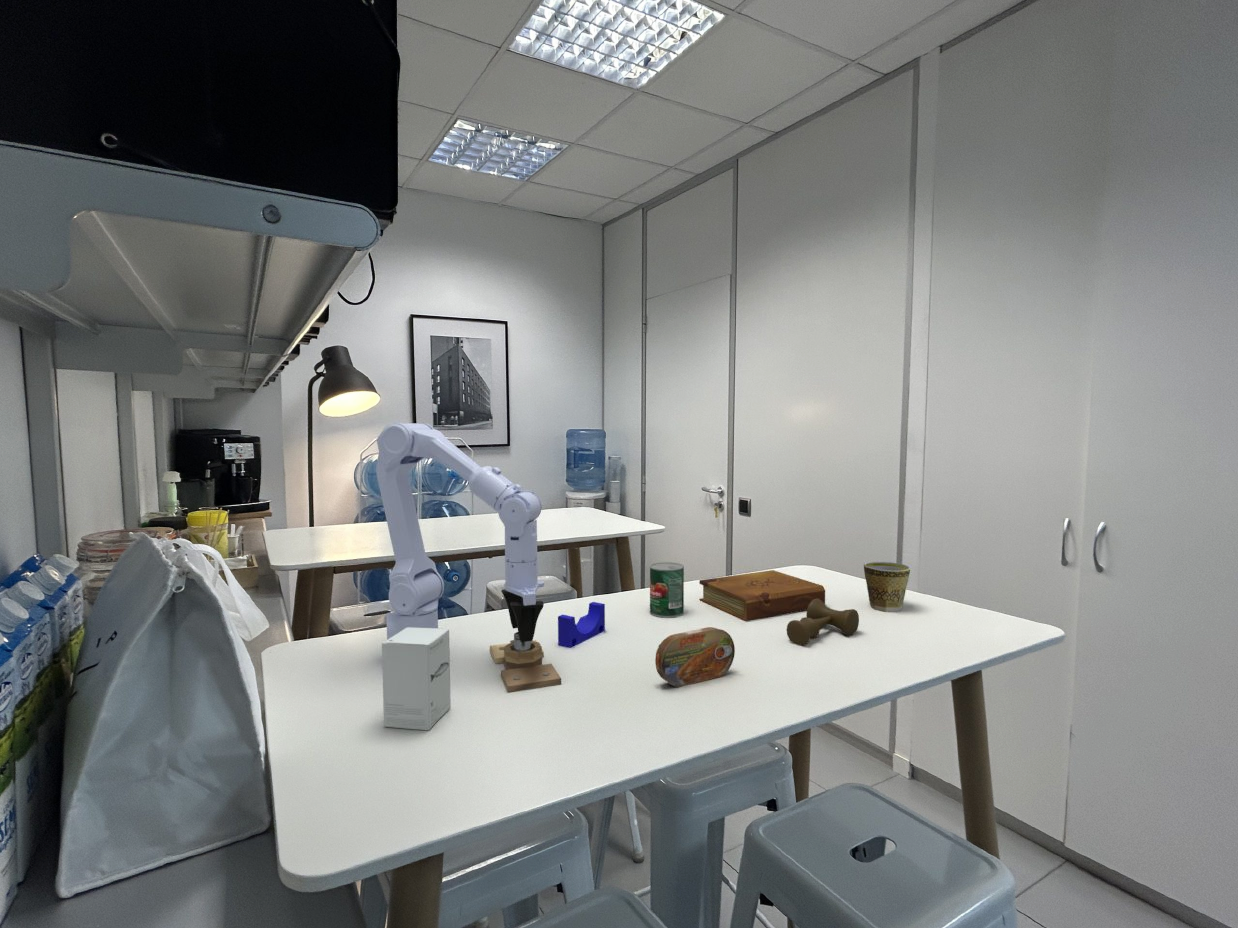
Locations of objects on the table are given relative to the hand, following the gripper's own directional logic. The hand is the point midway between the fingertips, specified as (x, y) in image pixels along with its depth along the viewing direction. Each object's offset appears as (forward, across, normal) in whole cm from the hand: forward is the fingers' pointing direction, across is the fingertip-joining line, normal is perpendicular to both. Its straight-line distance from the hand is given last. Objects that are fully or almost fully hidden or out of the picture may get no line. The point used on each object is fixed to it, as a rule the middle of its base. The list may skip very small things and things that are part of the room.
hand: (522, 633), depth 112 cm
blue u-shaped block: (+6, +11, -14) cm, 19 cm away
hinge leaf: (+6, +3, 0) cm, 7 cm away
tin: (+6, -16, -27) cm, 32 cm away
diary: (+6, +18, -62) cm, 64 cm away
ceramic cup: (+6, +6, -88) cm, 88 cm away
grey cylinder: (+6, 0, 0) cm, 6 cm away
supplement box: (+6, -14, +18) cm, 24 cm away
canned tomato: (+6, +20, -38) cm, 43 cm away
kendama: (+6, -5, -62) cm, 62 cm away
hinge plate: (+6, -3, 0) cm, 7 cm away
